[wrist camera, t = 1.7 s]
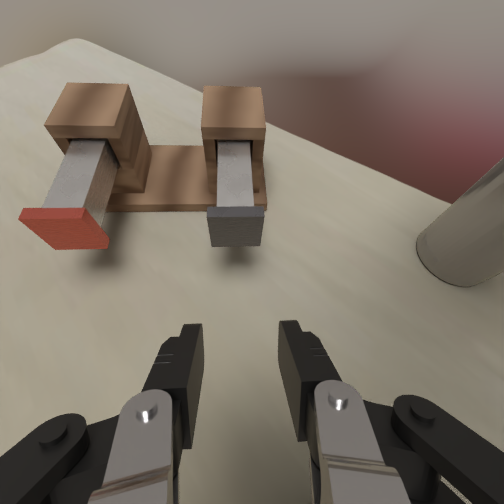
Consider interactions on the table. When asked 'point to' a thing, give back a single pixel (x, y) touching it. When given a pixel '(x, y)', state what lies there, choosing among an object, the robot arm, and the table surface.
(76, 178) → the red plug
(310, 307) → the table surface
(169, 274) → the table surface
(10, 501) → the robot arm
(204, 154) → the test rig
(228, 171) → the charcoal plug
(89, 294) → the table surface
